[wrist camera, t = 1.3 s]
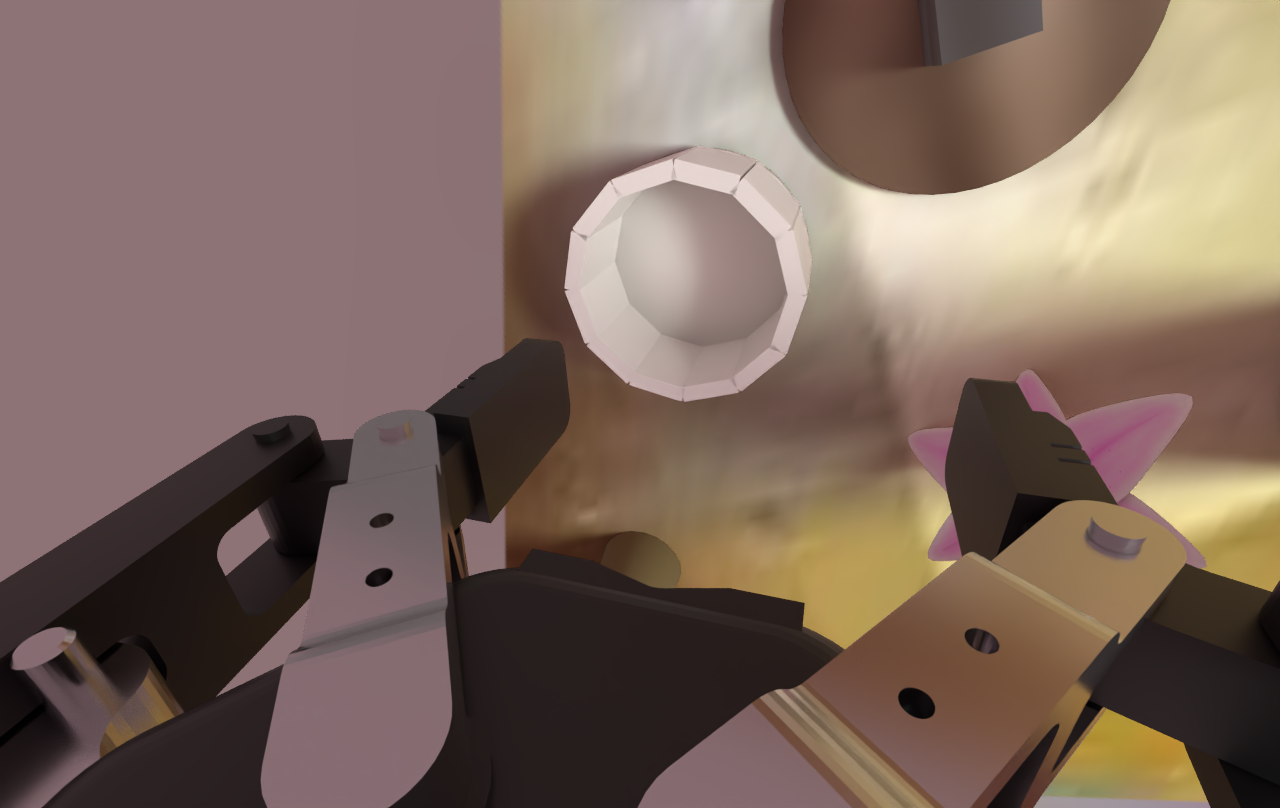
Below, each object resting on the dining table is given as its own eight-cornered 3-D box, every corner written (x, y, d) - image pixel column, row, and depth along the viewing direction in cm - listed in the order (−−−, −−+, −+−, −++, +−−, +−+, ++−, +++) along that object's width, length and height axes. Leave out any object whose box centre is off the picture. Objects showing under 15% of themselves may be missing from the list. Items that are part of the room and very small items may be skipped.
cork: (594, 532, 44) (529, 652, 35) (670, 531, 42) (622, 659, 33) (616, 592, 47) (561, 719, 37) (689, 593, 44) (649, 729, 35)
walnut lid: (1177, -322, 19) (1298, -465, 14) (1165, 133, 24) (1249, 149, 19) (751, -106, 24) (727, -151, 19) (817, 226, 30) (812, 256, 25)
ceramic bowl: (783, 115, 28) (770, 124, 23) (828, 330, 32) (825, 378, 27) (580, 186, 32) (532, 206, 27) (643, 366, 36) (612, 413, 31)
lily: (1183, 337, 28) (1179, 357, 21) (1234, 576, 28) (1247, 674, 21) (923, 381, 36) (859, 405, 30) (963, 565, 37) (909, 633, 30)
